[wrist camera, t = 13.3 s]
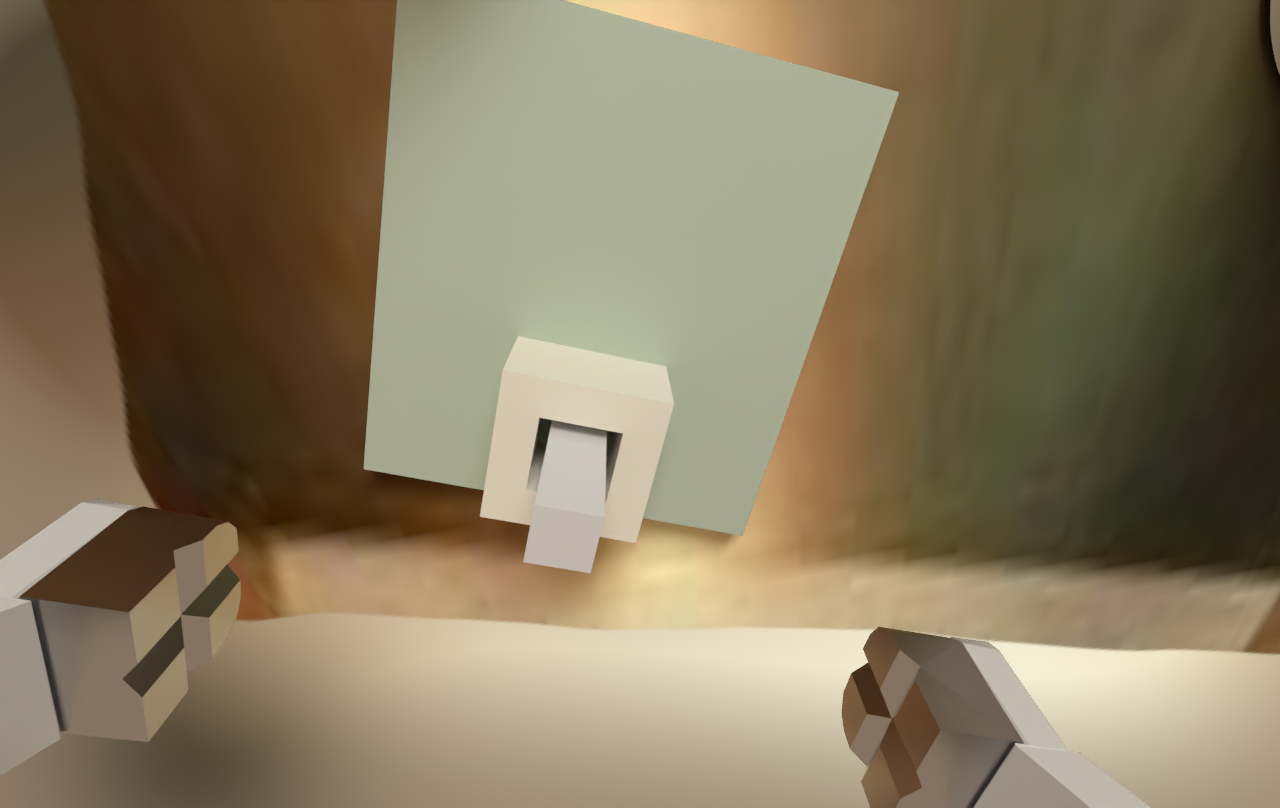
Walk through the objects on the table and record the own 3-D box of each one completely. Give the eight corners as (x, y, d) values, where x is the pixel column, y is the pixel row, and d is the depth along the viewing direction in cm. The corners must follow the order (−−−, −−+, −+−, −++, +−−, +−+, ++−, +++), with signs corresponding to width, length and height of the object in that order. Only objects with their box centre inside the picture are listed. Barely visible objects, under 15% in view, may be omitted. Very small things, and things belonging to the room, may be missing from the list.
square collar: (666, 366, 28) (674, 404, 24) (633, 491, 30) (636, 542, 26) (517, 336, 27) (502, 369, 23) (496, 467, 29) (480, 516, 26)
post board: (883, 93, 25) (1050, 76, 15) (737, 518, 33) (788, 683, 23) (413, -35, 23) (266, -148, 13) (374, 453, 30) (264, 606, 21)
